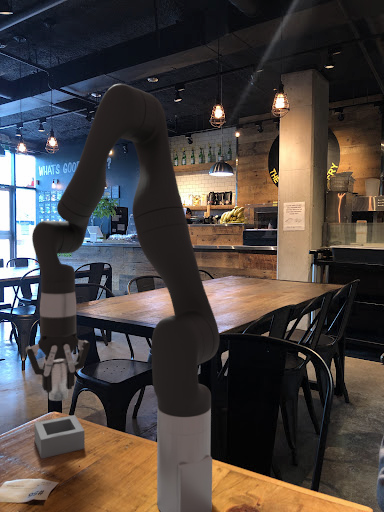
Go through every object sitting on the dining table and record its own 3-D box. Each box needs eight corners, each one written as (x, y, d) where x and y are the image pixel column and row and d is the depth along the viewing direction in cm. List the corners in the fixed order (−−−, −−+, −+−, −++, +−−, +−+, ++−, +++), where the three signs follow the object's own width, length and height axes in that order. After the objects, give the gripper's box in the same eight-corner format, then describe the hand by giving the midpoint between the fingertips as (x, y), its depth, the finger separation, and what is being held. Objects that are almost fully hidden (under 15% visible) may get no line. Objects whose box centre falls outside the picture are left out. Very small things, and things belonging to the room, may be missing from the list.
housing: (84, 448, 92) (84, 430, 92) (41, 458, 88) (41, 439, 88) (74, 431, 100) (74, 415, 100) (34, 440, 96) (34, 422, 95)
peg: (69, 398, 93) (69, 362, 92) (50, 402, 91) (50, 365, 90) (65, 392, 96) (65, 357, 96) (47, 395, 94) (47, 360, 94)
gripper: (26, 318, 86) (26, 401, 87) (95, 313, 93) (95, 390, 93) (21, 312, 92) (21, 389, 93) (86, 307, 99) (86, 379, 100)
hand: (58, 389), depth 93 cm, fingers closed on peg, 4 cm apart
